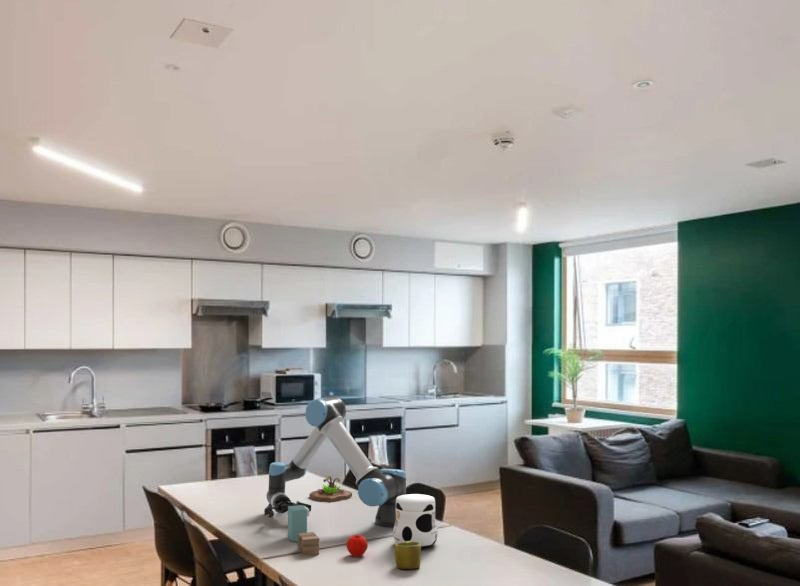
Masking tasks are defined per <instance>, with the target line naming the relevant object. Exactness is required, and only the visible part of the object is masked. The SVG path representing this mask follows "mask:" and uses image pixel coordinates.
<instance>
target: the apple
mask: <svg viewBox="0 0 800 586" xmlns="http://www.w3.org/2000/svg"><path fill="white" fill-rule="evenodd" d="M345 545H346V549H347V551H348V552H349V554H350V555H351V556H352V557H355V558H359V557H362V556H363V555H364V554H365V553H366V552H367V550H368V542H367V539H366V538H365V537H364V536H363V535H360V534H355V535H352V536H350V537H349V538H348V539H347V541H346V544H345Z"/></svg>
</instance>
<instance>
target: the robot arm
mask: <svg viewBox="0 0 800 586" xmlns="http://www.w3.org/2000/svg"><path fill="white" fill-rule="evenodd" d="M304 413H305V414H304V415H305V420H306V422H307V423H308V424H309V425H310V426H312V427H314V428H313V430H312V431H311V432H310V434H309V436H308V437H307V438H306V440H305V441H304V442H303V444H302V445H301V447H300V448H299V450H298V451H297V452H296V453H295V455H294V456H293V458H292V459H291V461H290V462H289V463H288V464H286V463H285V462H281V461H277V462H276V461H275V462H271V463H270V464H269V470H268V487H267V488H268V491H267V492H266V494H265V495H266V499H267V502H268V504H267V506H266V507H265V508H264V513H263V514H264V516H268V518H272V517H273V519H274V520H278V514H285V513H288V506H297V505H303V506H304V507H305V508H306V509H307V517H310V512H312V504H308V503H305V502H301V501H298V500H297V501H296V502H294V501H293V502H292V501H291V498H289V496H288V495H286V483H287V482H290V481H294V480H298V479H301V478H302V477H305V475H306V474H307V467H308V466H309V464H310V463H311V462H312V461H313V459H314V458H315V456H316V454H318V452H319V451H320V449H321V448H322V446H323V445H324V443H325V442H326V441H327V440H328V439H329V441H330V442H331V444H332V445H333V446H334V448H335V449H336V451H337V452H338V454H339V455H340V456H341V458H342V460H343V461H344V462H345V464H346V465H347V467H348V468H349V469H350V471H351V473H352V474H353V475H354V477H355V479H356V481H355V485H356V486H357V491H358V492H357V496H358V499H359V500H360V501H361V502H362V503H363V504H364V505H366V506H368V507H377V510H376V515H375V518H374V519H375V520H374V522H375V523H374V524H376V525H378V526H382V527H387V528H388V527H389V528H394V525H395V521H396V498H397V497H398V496H401V495H406V494H407V476H406V475H407V473H406V471H405V470H403V469H396V468H381V469H380V468H379V466H378V467H377V466H373V464H372V463H371V462H370V460H369V459H368V458H367V456H366V454H365V453H364V452H363V450H362V449H361V447H360V446H359V444H358V443H357V441H356V440H355V439H354V438H353V436H352V435H351V433H350V432H349V430H348V429H347V427H346V426H345V425H344V423H343V421H344V419H345V417H346V414H347V407H346V404H345V402H344V401H343V400H342V399H341V398H339V397H337V396H329V397H323V398H321V397H317V398H316V399H315V398H314V399H312V400H311V401H309V402H308V404H307V405H306V408H305V412H304Z"/></svg>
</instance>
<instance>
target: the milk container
mask: <svg viewBox="0 0 800 586" xmlns="http://www.w3.org/2000/svg"><path fill="white" fill-rule="evenodd" d="M392 532H393V534H392V536H393V540H394V542H395V544H396V543H399V542H406V541H410V542H418V543H420V545H421V549H424V548H428V547H432V546H433V545H435V544H436V542H437V539H438V534H439V533H438V527H437V524H436V499H435V497H434V496H431V495H428V494H421V493H410V494H407V493H406V495H401V496H398V497H397V498H396V521H395V525H394V527H393V530H392Z"/></svg>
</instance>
